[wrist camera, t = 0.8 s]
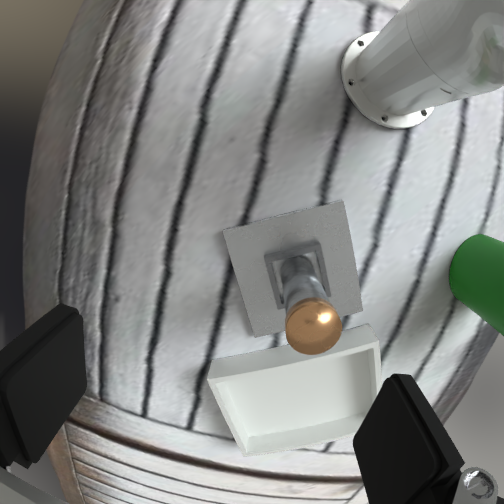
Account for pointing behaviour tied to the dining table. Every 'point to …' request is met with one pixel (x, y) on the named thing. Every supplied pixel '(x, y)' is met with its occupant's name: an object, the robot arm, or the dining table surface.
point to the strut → (308, 309)
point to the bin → (298, 393)
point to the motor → (480, 278)
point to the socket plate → (287, 247)
